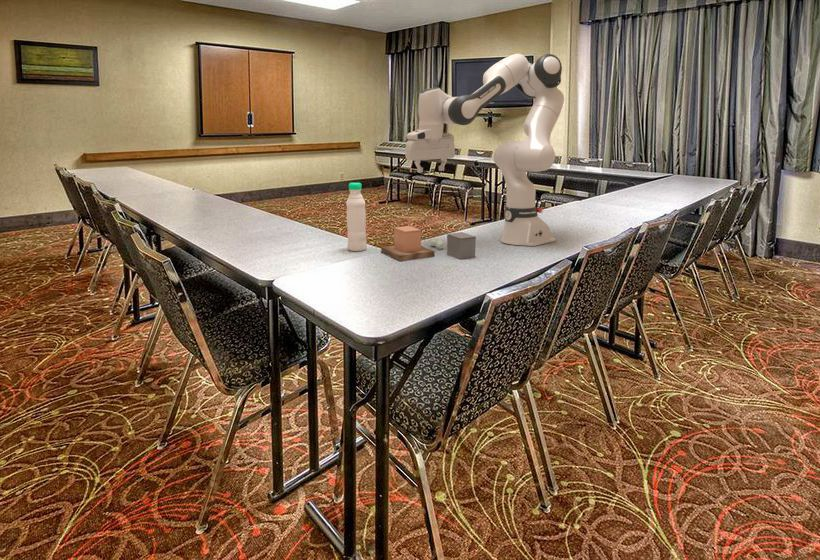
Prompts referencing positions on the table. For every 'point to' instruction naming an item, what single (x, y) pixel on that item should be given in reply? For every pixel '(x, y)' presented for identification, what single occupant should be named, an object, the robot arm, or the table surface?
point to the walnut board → (407, 253)
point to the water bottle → (356, 218)
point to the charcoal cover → (461, 245)
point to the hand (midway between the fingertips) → (430, 171)
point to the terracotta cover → (407, 239)
